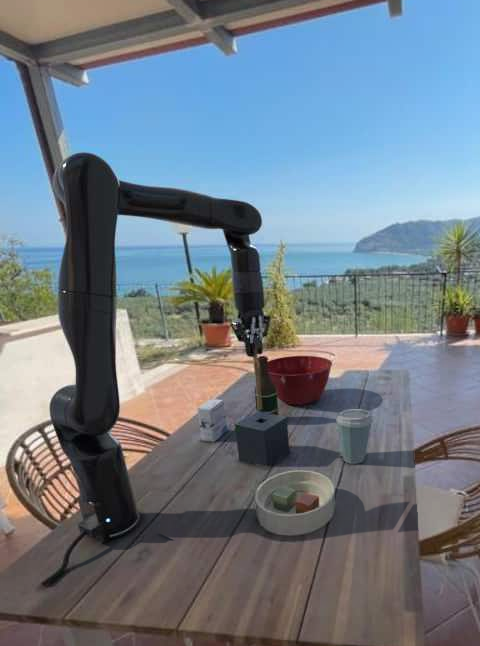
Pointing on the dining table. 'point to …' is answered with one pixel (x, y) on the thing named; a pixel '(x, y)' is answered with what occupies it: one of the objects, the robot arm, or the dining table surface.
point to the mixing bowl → (299, 378)
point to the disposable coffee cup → (354, 434)
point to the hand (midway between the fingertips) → (254, 354)
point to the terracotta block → (306, 503)
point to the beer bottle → (266, 388)
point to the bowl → (291, 521)
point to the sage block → (284, 498)
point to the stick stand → (262, 438)
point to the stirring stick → (257, 370)
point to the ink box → (212, 420)
